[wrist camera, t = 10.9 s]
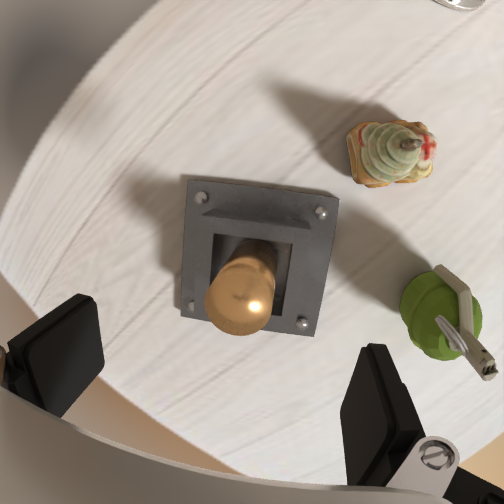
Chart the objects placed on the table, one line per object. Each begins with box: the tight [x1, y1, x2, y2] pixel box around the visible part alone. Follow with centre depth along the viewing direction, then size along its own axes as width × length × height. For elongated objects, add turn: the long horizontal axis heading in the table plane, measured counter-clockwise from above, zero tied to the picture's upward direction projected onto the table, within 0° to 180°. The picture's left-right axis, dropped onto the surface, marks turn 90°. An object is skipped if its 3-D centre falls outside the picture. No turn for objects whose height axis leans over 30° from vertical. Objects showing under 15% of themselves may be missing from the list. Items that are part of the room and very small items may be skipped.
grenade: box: [400, 265, 498, 381], centre depth 22 cm, size 7×8×15 cm
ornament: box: [346, 120, 437, 188], centre depth 22 cm, size 8×6×10 cm
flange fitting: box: [181, 180, 339, 337], centre depth 28 cm, size 14×14×5 cm
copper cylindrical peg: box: [205, 239, 278, 336], centre depth 25 cm, size 4×4×10 cm
